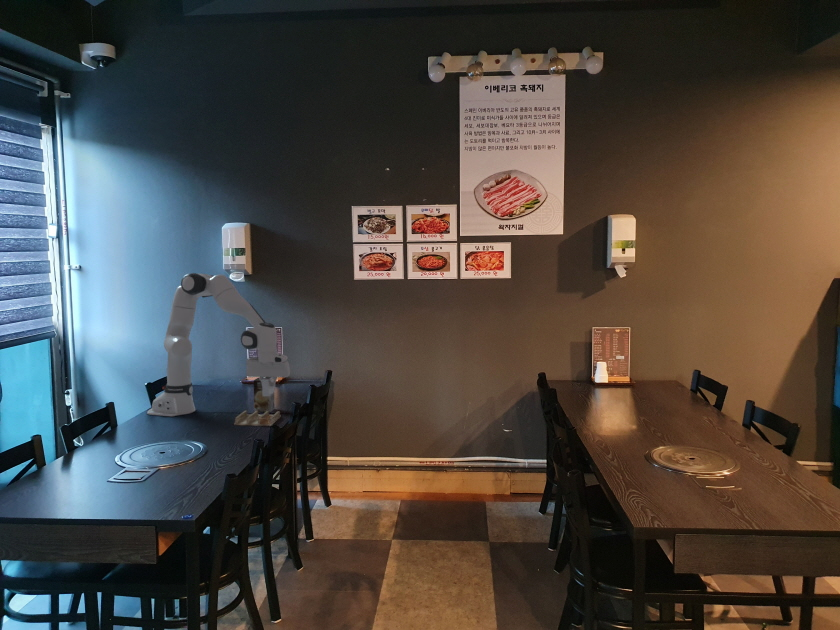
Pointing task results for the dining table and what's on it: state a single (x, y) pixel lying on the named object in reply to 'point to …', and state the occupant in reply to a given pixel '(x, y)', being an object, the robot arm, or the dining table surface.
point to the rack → (257, 419)
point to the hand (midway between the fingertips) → (268, 386)
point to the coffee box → (262, 398)
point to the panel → (267, 386)
